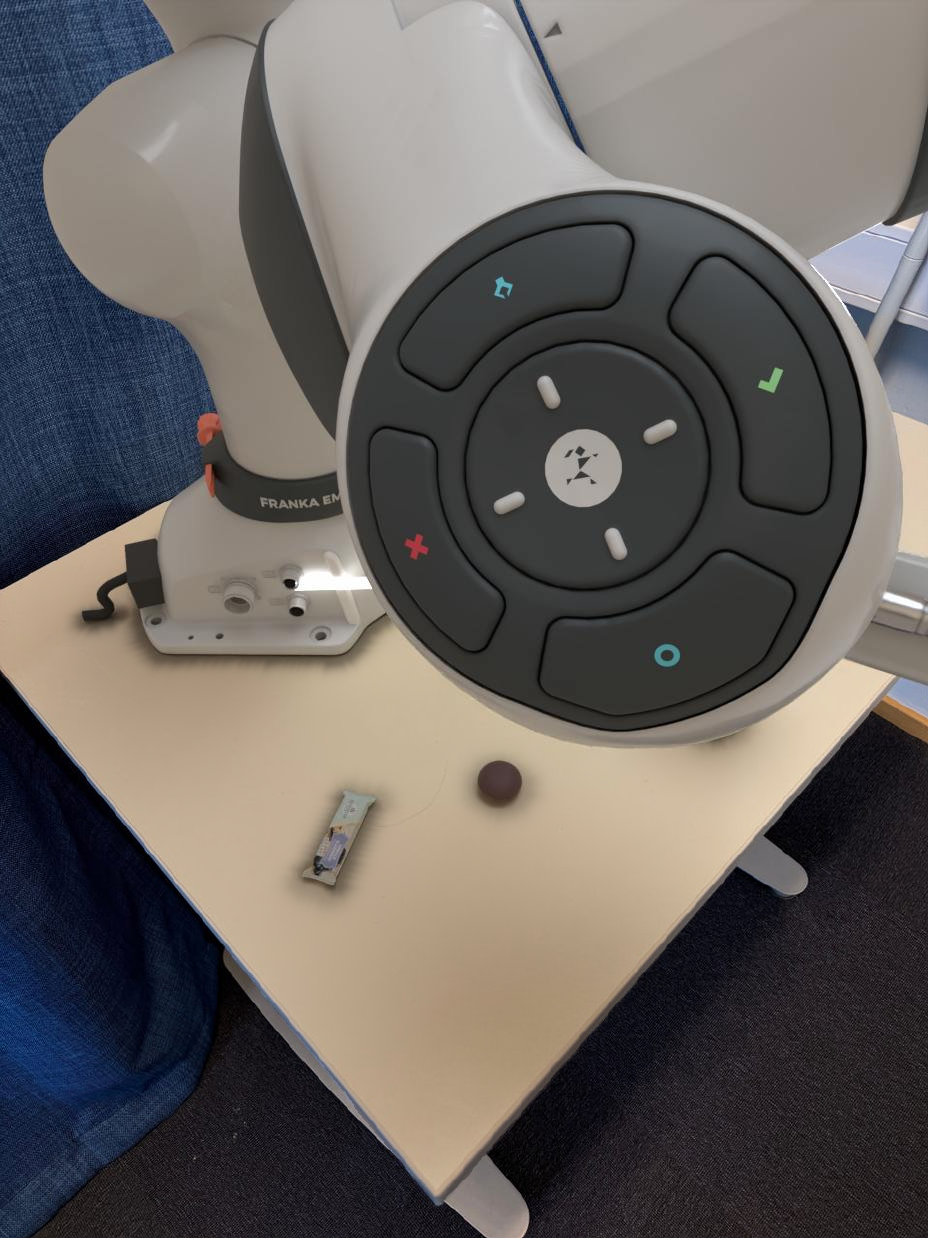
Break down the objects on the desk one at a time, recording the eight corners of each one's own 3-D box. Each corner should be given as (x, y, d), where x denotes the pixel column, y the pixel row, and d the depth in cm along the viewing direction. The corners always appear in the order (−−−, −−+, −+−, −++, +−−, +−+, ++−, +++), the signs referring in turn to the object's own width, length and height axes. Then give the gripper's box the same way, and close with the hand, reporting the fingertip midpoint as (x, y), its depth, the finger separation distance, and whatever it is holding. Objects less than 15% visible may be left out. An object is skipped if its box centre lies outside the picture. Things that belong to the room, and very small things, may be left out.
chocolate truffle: (476, 805, 61) (476, 793, 59) (478, 767, 63) (478, 754, 61) (521, 806, 60) (522, 794, 59) (521, 768, 62) (522, 755, 61)
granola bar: (346, 791, 62) (344, 783, 61) (377, 801, 61) (376, 793, 60) (302, 879, 57) (299, 872, 57) (335, 890, 57) (333, 883, 56)
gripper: (1136, 548, 23) (1009, 572, 36) (425, 367, 29) (536, 443, 42) (1046, 779, 24) (953, 721, 37) (371, 553, 30) (496, 571, 43)
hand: (726, 570), depth 40 cm, fingers open, 8 cm apart
